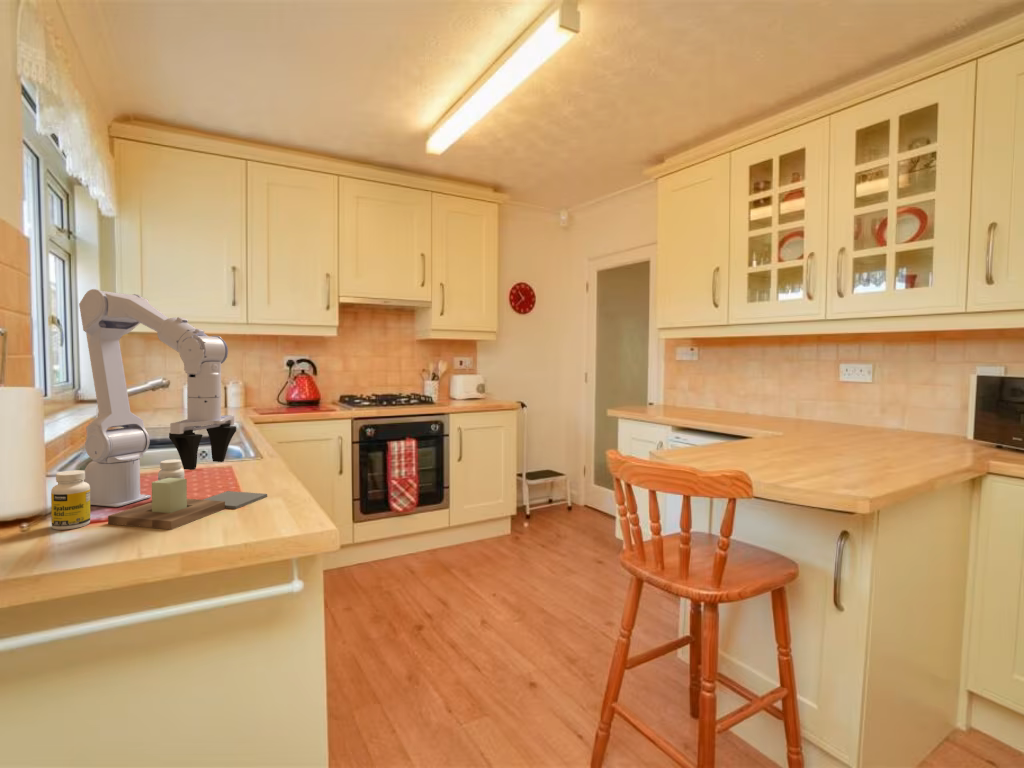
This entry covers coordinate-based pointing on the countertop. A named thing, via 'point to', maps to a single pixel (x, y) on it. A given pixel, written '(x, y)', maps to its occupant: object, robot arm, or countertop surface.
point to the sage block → (169, 495)
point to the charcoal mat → (237, 498)
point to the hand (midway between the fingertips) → (204, 465)
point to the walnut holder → (166, 515)
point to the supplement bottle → (70, 501)
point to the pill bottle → (171, 469)
